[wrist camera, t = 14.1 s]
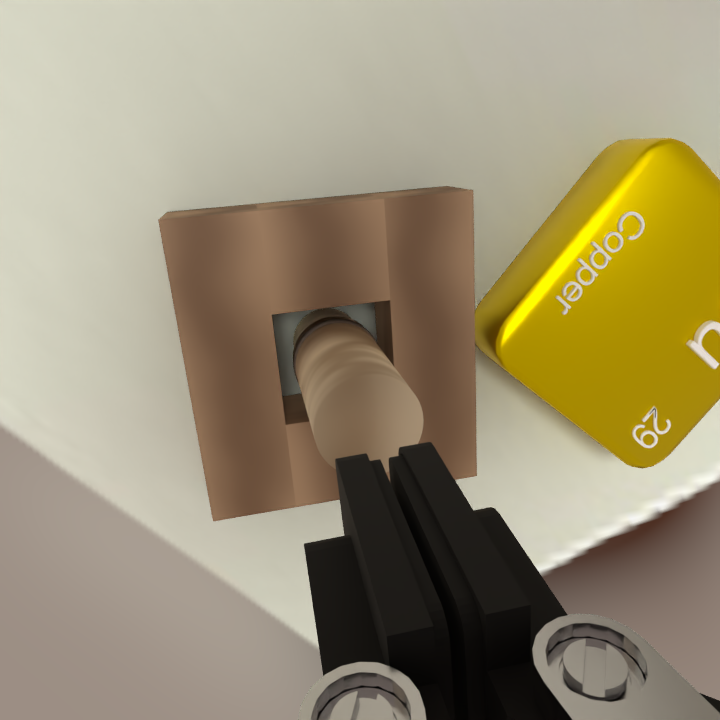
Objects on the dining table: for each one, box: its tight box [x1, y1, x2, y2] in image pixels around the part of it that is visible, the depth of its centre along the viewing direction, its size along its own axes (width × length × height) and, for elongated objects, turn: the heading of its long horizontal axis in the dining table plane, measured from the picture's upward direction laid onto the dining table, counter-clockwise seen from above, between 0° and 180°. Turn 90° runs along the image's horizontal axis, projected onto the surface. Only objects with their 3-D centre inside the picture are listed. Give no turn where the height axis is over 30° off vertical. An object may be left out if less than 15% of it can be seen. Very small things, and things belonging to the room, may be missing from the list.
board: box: [158, 186, 477, 521], centre depth 33 cm, size 15×16×4 cm
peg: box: [293, 308, 423, 472], centre depth 30 cm, size 4×4×12 cm
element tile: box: [475, 138, 720, 468], centre depth 36 cm, size 15×15×5 cm
